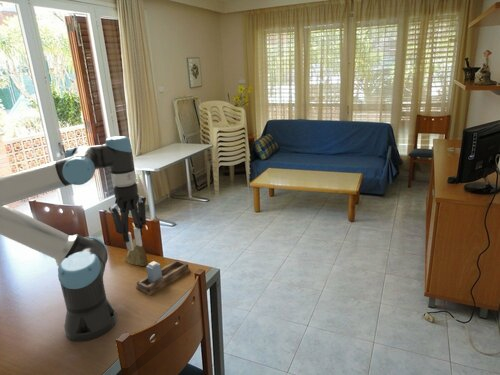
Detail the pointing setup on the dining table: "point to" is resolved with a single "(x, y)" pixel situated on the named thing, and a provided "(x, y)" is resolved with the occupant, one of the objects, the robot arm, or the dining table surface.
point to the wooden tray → (164, 277)
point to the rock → (136, 255)
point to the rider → (154, 272)
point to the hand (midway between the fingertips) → (134, 247)
